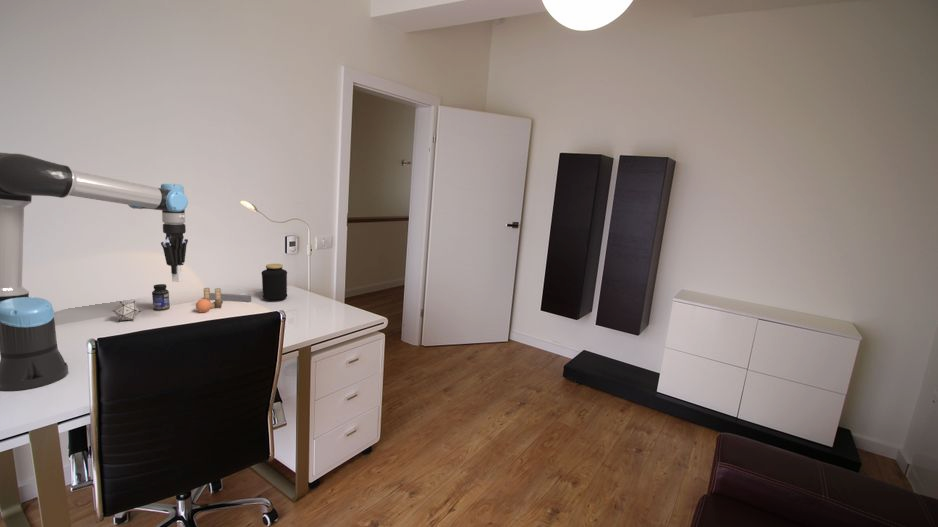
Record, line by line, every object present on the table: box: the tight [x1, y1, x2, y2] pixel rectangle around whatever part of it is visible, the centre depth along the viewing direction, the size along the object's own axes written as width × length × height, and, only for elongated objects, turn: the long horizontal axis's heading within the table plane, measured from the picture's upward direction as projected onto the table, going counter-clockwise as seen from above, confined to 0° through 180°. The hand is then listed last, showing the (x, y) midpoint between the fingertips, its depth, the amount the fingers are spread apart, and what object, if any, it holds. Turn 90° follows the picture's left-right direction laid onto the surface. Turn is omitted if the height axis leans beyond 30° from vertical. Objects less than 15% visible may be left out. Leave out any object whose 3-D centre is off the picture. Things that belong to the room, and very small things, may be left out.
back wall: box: [210, 292, 252, 303], centre depth 215 cm, size 2×22×3 cm, turn 89°
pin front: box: [210, 300, 224, 310], centre depth 204 cm, size 2×2×9 cm
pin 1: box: [203, 287, 211, 302], centre depth 202 cm, size 2×2×9 cm
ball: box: [195, 298, 212, 313], centre depth 195 cm, size 6×6×6 cm
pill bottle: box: [151, 283, 171, 312], centre depth 195 cm, size 6×6×11 cm
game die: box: [111, 300, 142, 322], centre depth 179 cm, size 9×8×10 cm
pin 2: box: [214, 288, 222, 309], centre depth 202 cm, size 2×2×9 cm
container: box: [261, 263, 289, 302], centre depth 219 cm, size 12×12×18 cm
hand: (176, 281), depth 177 cm, fingers closed
